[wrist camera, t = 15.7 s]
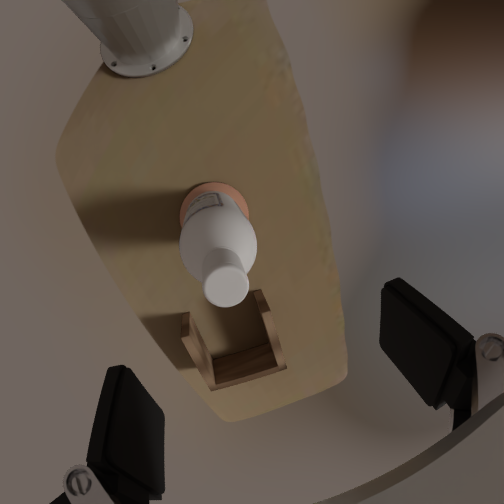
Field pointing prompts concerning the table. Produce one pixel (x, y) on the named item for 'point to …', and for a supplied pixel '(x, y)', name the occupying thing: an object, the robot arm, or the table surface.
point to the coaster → (213, 187)
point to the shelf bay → (238, 364)
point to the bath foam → (218, 247)
